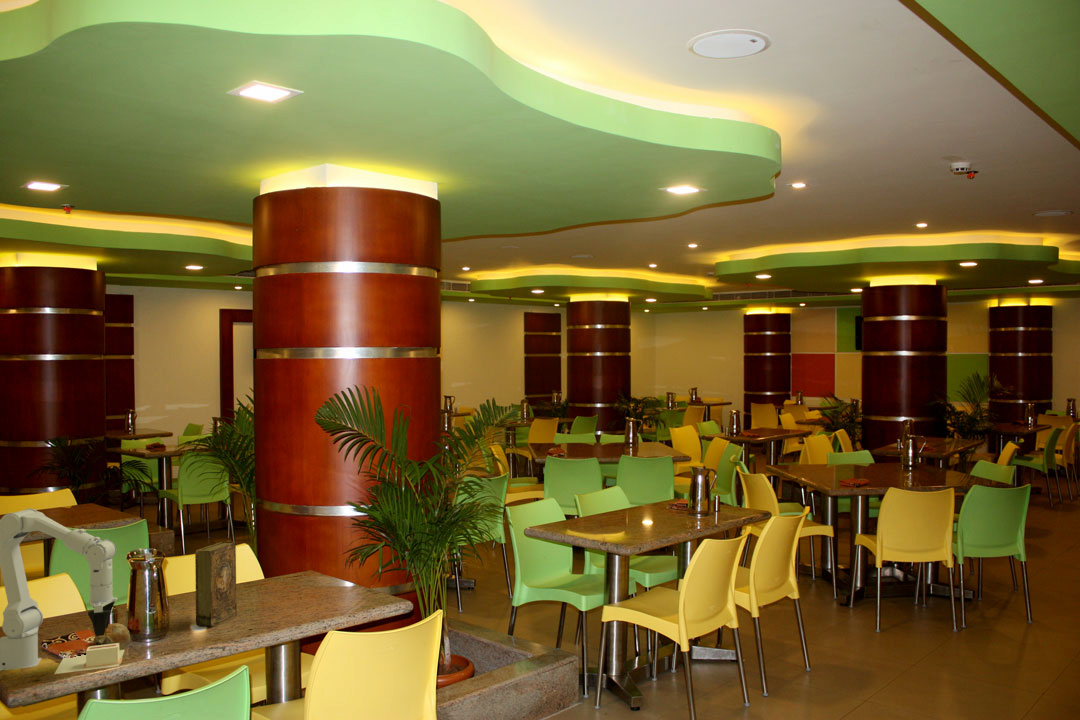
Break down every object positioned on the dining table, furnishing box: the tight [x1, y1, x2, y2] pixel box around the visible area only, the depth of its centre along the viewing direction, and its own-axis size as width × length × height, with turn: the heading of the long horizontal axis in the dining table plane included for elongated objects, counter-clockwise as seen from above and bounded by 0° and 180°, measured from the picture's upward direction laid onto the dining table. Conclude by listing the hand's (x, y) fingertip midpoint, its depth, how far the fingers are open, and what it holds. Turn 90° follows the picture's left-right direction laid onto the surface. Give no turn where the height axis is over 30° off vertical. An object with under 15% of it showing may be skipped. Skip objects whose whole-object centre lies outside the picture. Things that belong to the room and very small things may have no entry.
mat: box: [54, 649, 125, 675], centre depth 245 cm, size 16×16×1 cm
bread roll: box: [93, 622, 131, 646], centre depth 264 cm, size 10×10×8 cm
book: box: [194, 540, 238, 628], centre depth 287 cm, size 16×6×25 cm, turn 168°
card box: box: [85, 643, 120, 667], centre depth 243 cm, size 4×8×5 cm, turn 111°
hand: (101, 631), depth 243 cm, fingers open, 7 cm apart
